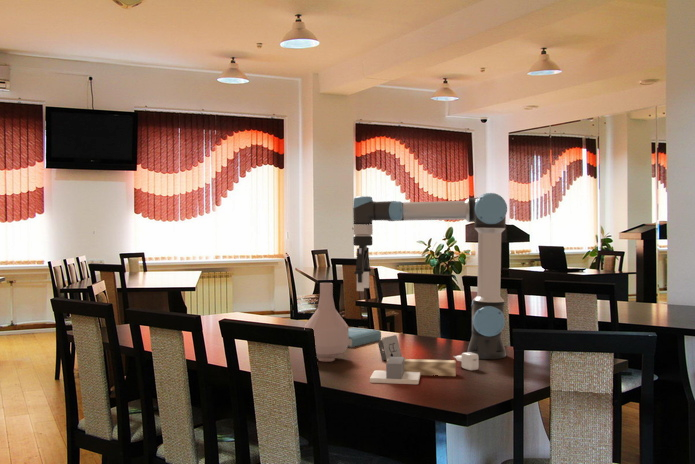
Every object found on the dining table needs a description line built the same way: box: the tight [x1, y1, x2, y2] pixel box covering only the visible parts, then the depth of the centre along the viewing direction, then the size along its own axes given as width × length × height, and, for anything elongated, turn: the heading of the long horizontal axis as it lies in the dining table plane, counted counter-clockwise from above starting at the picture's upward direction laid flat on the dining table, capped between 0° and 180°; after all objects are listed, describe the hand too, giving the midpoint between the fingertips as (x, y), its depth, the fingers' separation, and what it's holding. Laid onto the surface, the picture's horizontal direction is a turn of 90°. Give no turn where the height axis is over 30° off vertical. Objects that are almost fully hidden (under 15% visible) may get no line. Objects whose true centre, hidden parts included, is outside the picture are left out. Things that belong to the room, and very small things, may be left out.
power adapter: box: [452, 351, 480, 371], centre depth 238 cm, size 11×5×6 cm, turn 28°
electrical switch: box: [377, 334, 403, 361], centre depth 254 cm, size 9×5×9 cm, turn 141°
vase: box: [304, 282, 349, 362], centre depth 253 cm, size 18×18×30 cm
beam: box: [386, 358, 457, 377], centre depth 228 cm, size 24×4×5 cm, turn 82°
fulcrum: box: [369, 356, 421, 385], centre depth 219 cm, size 16×12×6 cm
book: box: [347, 326, 382, 348], centre depth 293 cm, size 23×16×5 cm
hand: (363, 289), depth 254 cm, fingers open, 13 cm apart
